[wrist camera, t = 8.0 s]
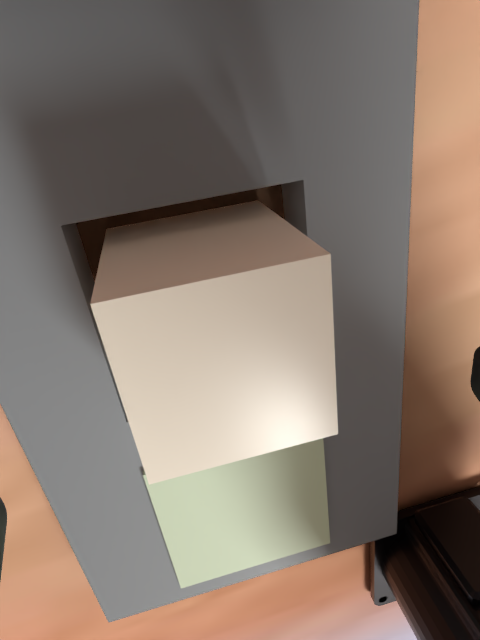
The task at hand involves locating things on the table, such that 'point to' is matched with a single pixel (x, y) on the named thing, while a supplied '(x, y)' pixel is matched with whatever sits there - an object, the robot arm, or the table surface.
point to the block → (217, 336)
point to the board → (188, 185)
